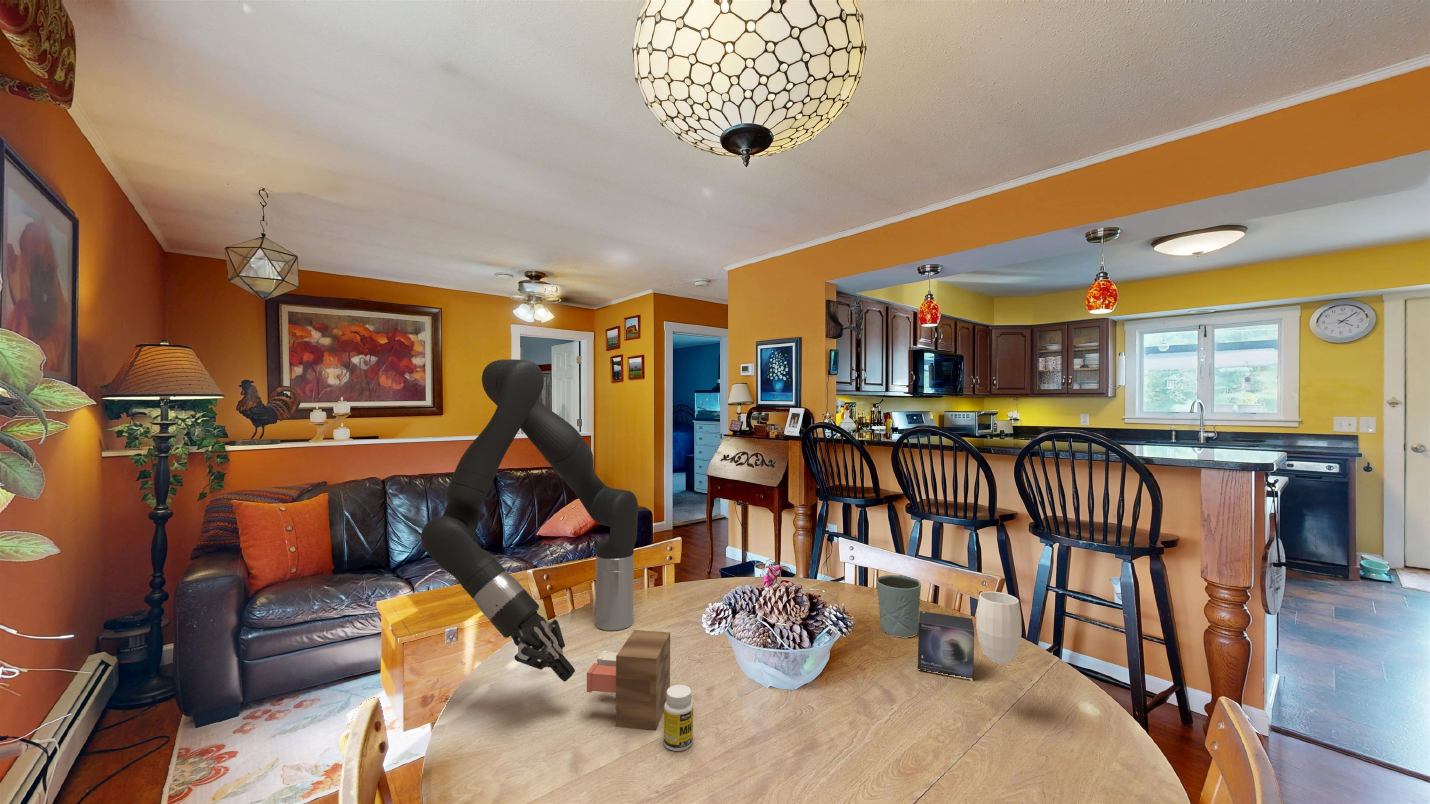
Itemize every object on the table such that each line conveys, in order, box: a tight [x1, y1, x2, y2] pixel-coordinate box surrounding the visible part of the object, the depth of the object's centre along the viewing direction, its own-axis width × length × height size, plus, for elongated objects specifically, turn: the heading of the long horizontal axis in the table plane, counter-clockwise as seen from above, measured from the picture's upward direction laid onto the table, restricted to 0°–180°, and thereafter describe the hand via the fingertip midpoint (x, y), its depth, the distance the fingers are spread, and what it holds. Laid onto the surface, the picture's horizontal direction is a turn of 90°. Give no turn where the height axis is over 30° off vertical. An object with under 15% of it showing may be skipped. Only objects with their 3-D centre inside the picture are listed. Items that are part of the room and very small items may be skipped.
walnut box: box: [615, 629, 671, 731], centre depth 96 cm, size 10×7×12 cm
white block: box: [596, 649, 618, 667], centre depth 99 cm, size 3×8×3 cm, turn 82°
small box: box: [917, 610, 975, 679], centre depth 111 cm, size 11×6×10 cm, turn 68°
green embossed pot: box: [876, 574, 922, 637], centre depth 130 cm, size 10×10×12 cm
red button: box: [586, 662, 616, 694], centre depth 94 cm, size 3×8×3 cm, turn 82°
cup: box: [975, 591, 1023, 665], centre depth 96 cm, size 7×7×21 cm
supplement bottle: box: [663, 684, 694, 752], centre depth 87 cm, size 5×5×8 cm
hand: (570, 676), depth 95 cm, fingers closed
